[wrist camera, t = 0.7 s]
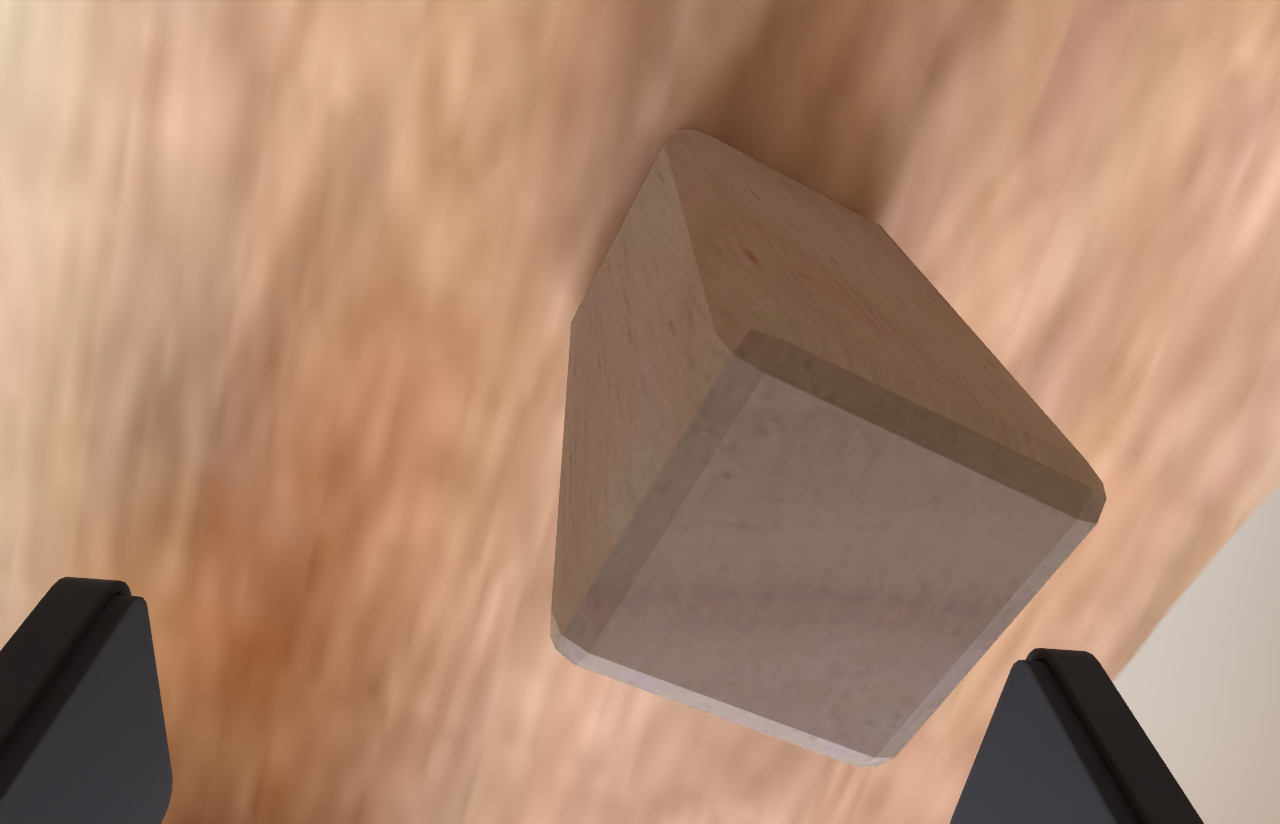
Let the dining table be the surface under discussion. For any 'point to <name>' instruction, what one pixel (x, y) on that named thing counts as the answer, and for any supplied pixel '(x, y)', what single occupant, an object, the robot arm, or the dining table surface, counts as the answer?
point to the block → (793, 467)
